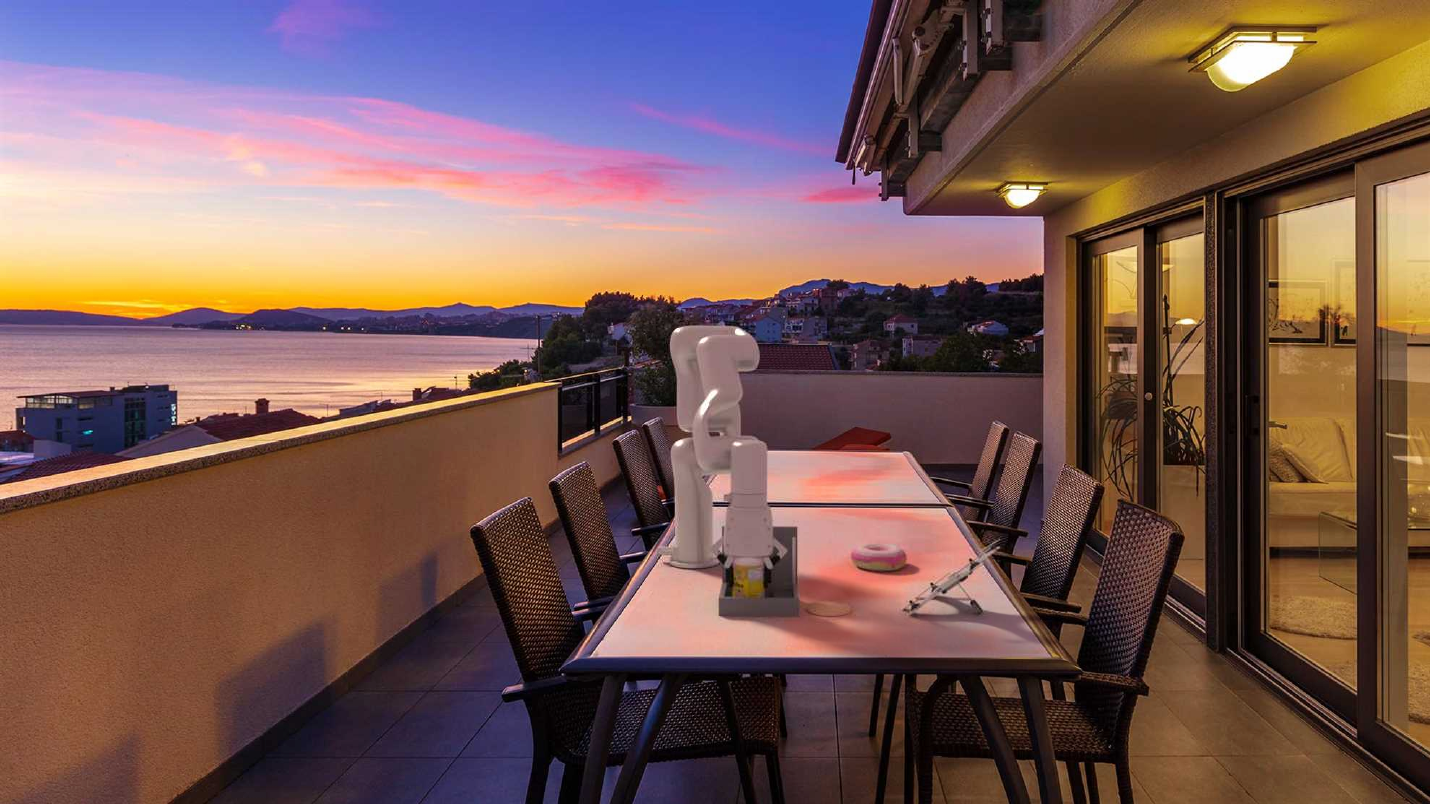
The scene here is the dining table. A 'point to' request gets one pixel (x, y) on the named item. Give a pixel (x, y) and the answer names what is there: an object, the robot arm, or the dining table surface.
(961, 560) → the dining table surface
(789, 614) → the case
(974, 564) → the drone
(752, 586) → the supplement bottle
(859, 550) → the donut
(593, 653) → the dining table surface
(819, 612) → the pad
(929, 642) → the dining table surface
